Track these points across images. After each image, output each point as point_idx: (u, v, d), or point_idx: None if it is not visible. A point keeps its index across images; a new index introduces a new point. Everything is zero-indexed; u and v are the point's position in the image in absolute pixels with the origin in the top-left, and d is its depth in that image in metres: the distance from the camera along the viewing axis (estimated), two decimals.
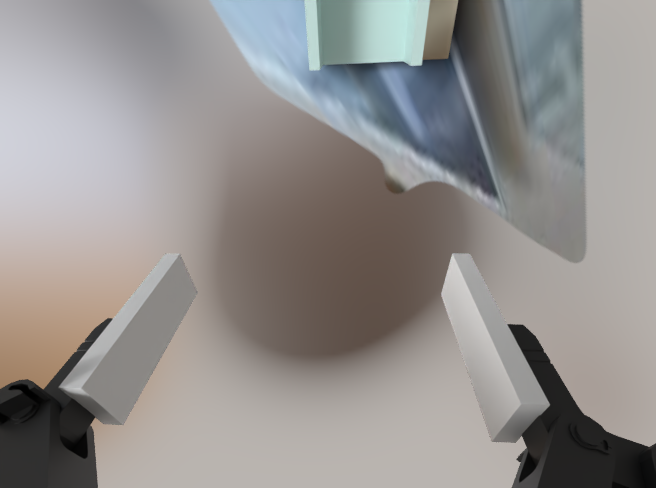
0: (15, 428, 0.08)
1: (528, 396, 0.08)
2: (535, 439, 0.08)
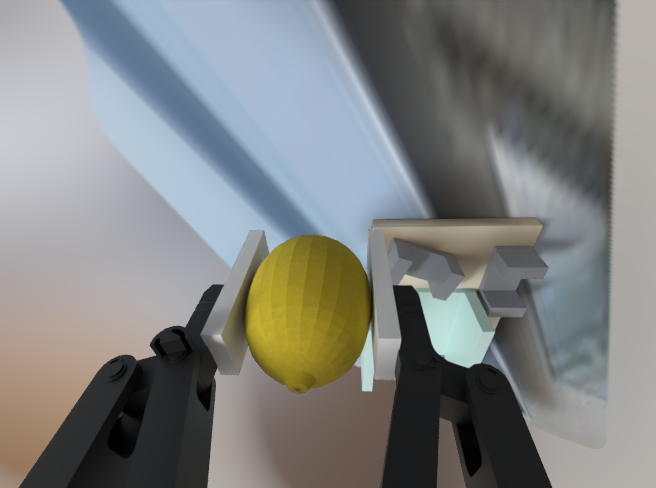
0: (169, 366, 0.09)
1: (387, 333, 0.10)
2: (397, 370, 0.10)
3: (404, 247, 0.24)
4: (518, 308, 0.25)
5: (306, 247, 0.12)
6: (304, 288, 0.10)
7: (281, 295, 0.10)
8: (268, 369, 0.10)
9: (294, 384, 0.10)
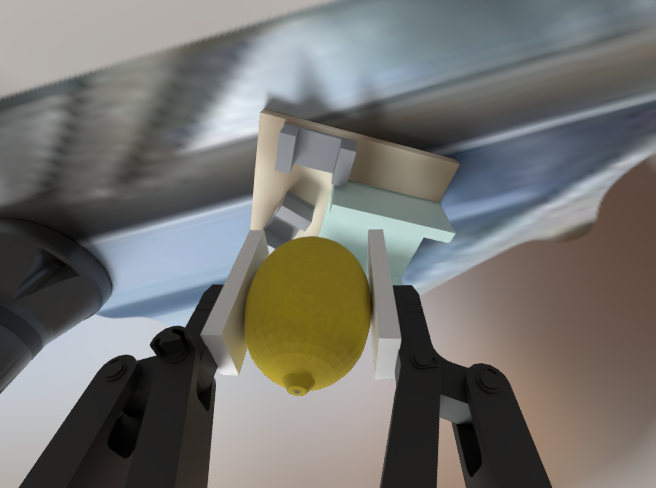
0: (169, 366, 0.09)
1: (387, 333, 0.10)
2: (397, 370, 0.10)
3: None
4: (339, 157, 0.22)
5: (305, 249, 0.12)
6: (304, 290, 0.10)
7: (281, 297, 0.10)
8: (268, 371, 0.10)
9: (293, 387, 0.10)
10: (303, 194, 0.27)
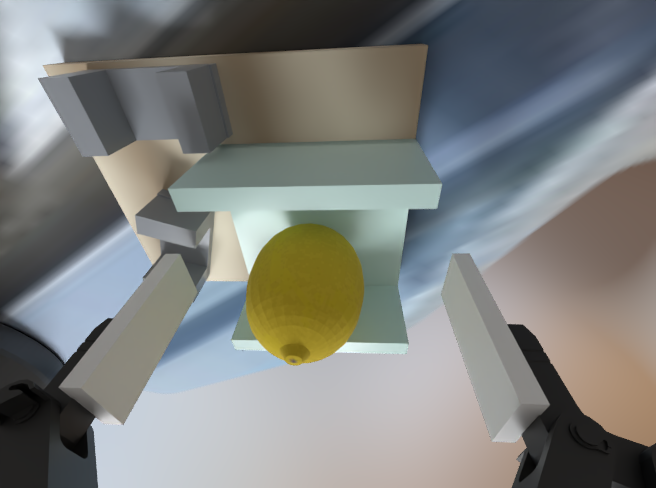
0: (15, 428, 0.08)
1: (528, 396, 0.08)
2: (535, 439, 0.08)
3: None
4: (164, 93, 0.11)
5: (302, 234, 0.13)
6: (300, 269, 0.11)
7: (279, 276, 0.11)
8: (267, 343, 0.11)
9: (290, 356, 0.11)
10: None
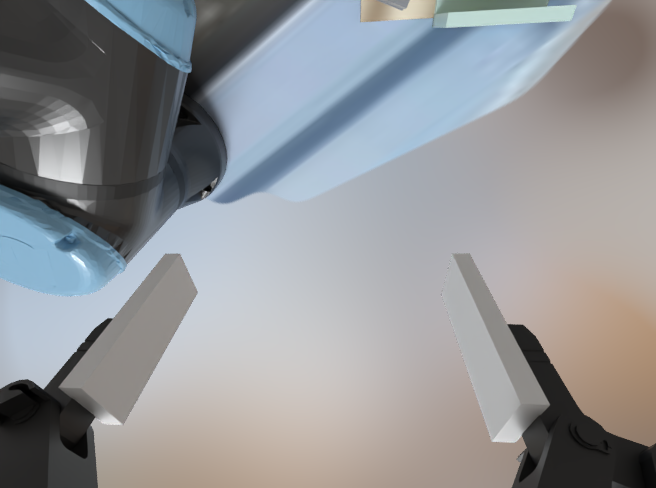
0: (15, 428, 0.08)
1: (528, 396, 0.08)
2: (535, 439, 0.08)
3: None
4: None
5: None
6: None
7: None
8: None
9: None
10: None
